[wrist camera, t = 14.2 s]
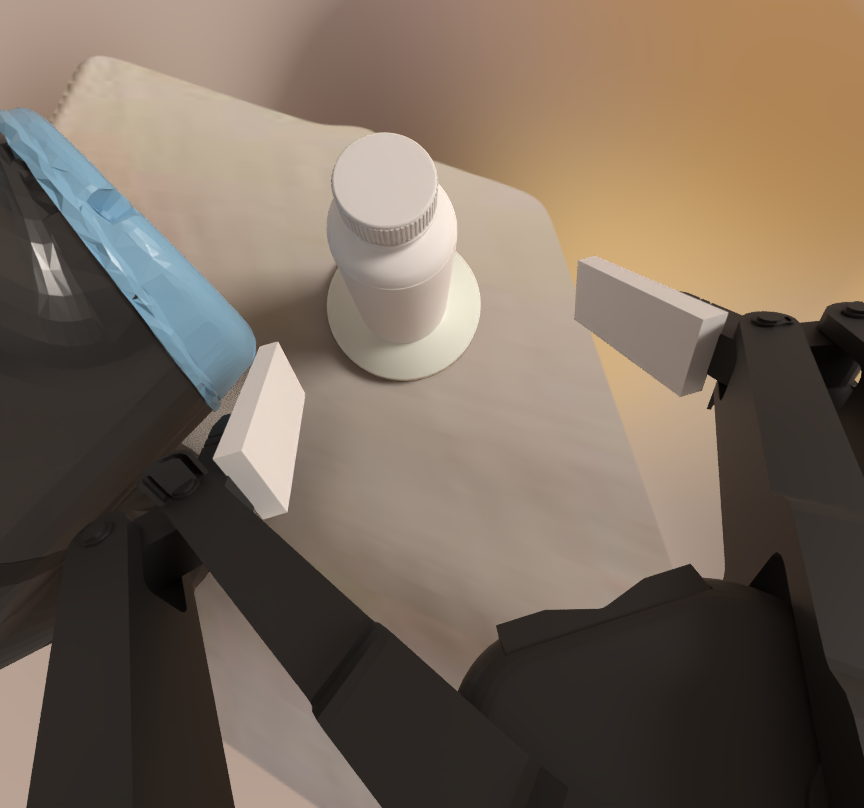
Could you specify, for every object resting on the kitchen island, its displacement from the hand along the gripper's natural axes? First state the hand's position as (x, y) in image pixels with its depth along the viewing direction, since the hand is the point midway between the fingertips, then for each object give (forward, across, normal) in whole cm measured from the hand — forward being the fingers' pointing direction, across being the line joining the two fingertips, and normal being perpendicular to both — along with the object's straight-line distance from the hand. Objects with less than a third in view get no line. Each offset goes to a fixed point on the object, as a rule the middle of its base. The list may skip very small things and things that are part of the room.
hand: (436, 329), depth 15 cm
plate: (+18, 0, -6) cm, 19 cm away
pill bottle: (+17, 0, -5) cm, 18 cm away
